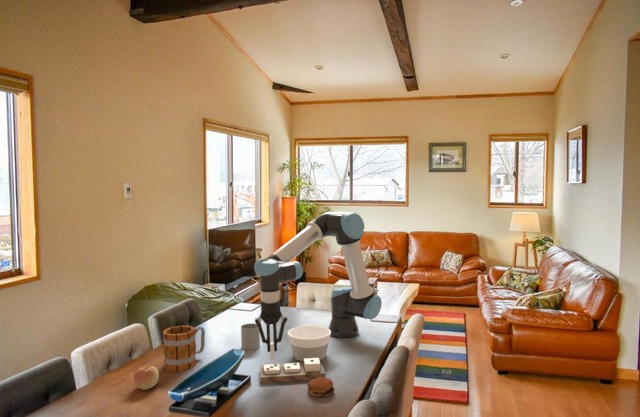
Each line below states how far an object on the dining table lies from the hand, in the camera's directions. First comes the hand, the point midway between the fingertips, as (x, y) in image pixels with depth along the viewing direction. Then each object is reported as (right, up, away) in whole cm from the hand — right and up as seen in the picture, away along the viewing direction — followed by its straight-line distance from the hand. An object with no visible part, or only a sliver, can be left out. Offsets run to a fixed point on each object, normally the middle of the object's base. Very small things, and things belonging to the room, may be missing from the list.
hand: (272, 359), depth 191 cm
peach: (-46, -8, -9) cm, 48 cm away
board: (+8, -7, +1) cm, 10 cm away
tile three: (0, -7, 0) cm, 7 cm away
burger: (+19, -8, -14) cm, 25 cm away
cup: (-13, -5, +34) cm, 37 cm away
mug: (-38, -7, +15) cm, 42 cm away
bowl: (+14, -6, +22) cm, 27 cm away
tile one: (+16, -5, +2) cm, 16 cm away
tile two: (+8, -6, +1) cm, 10 cm away
